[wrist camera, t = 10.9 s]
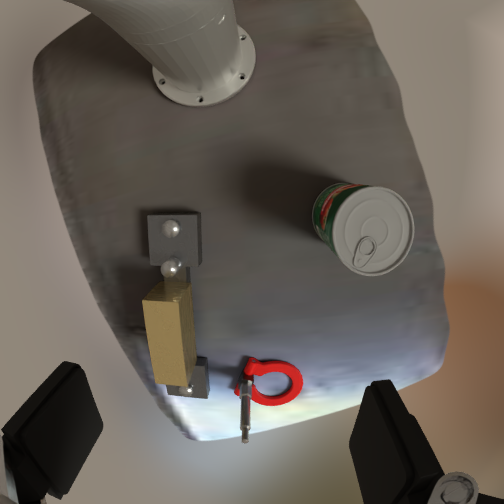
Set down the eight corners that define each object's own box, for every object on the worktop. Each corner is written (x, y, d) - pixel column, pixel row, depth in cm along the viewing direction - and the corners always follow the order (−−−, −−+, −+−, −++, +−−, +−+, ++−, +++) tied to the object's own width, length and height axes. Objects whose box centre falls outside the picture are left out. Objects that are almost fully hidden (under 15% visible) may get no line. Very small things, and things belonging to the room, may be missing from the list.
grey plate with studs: (153, 213, 36) (140, 218, 31) (200, 212, 35) (192, 217, 31) (171, 385, 42) (164, 403, 38) (209, 389, 42) (205, 408, 37)
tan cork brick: (159, 281, 36) (142, 300, 30) (191, 282, 35) (178, 302, 30) (168, 357, 38) (155, 383, 32) (197, 359, 38) (187, 386, 32)
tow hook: (311, 366, 41) (250, 350, 40) (330, 431, 28) (251, 417, 27) (287, 405, 43) (231, 392, 42) (297, 469, 30) (226, 458, 29)
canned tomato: (329, 171, 34) (357, 168, 23) (383, 201, 34) (427, 211, 24) (300, 231, 36) (316, 254, 25) (355, 258, 36) (389, 289, 25)
